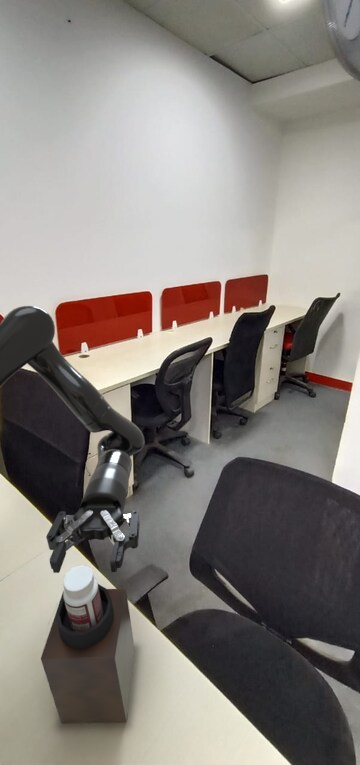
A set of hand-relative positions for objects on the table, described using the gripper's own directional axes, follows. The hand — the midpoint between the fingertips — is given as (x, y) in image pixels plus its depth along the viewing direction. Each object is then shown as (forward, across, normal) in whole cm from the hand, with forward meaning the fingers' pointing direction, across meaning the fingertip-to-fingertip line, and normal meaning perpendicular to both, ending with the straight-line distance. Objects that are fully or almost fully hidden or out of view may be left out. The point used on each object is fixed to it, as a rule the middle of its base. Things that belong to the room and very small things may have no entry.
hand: (84, 568), depth 52 cm
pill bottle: (+3, 0, +7) cm, 8 cm away
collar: (+3, 0, +7) cm, 8 cm away
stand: (+3, 0, +23) cm, 24 cm away
